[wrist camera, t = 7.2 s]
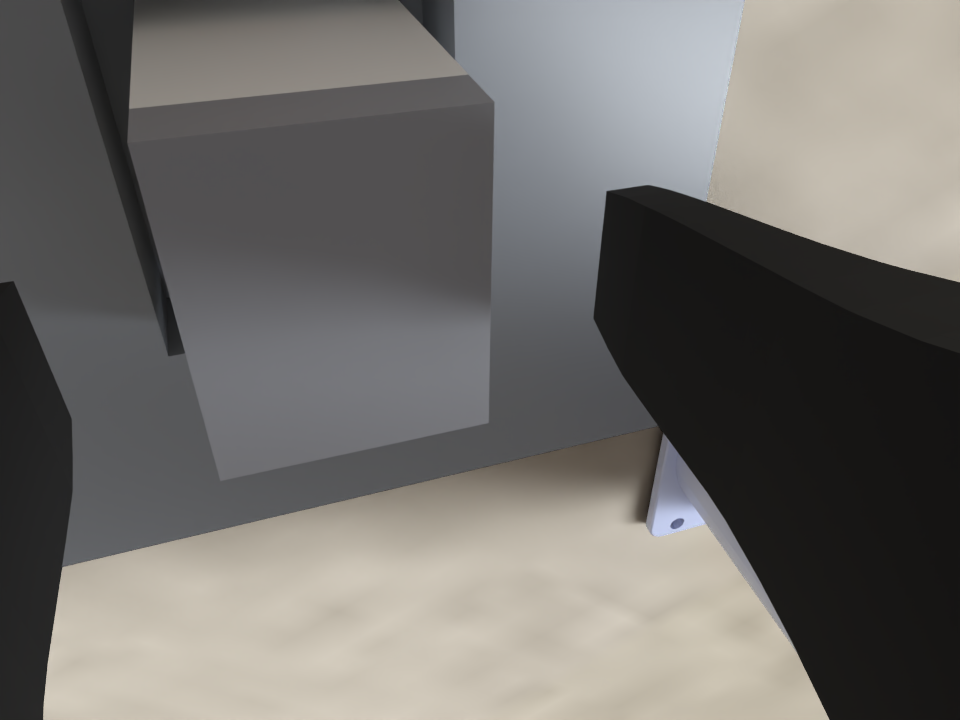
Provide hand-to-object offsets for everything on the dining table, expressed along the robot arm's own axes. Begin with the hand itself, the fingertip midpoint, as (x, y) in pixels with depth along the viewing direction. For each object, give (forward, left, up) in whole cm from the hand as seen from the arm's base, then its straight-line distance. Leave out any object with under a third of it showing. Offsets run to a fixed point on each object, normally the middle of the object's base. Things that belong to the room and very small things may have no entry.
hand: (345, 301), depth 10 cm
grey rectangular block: (0, 0, -6) cm, 6 cm away
